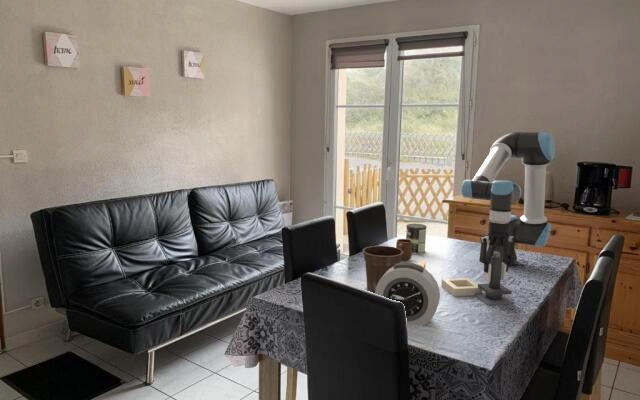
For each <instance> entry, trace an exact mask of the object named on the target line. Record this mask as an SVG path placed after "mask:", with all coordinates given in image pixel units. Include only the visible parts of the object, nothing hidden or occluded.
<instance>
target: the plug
mask: <svg viewBox="0 0 640 400" xmlns="http://www.w3.org/2000/svg"><path fill="white" fill-rule="evenodd" d="M490 265H491V277H490V282H488V283H477V284H478V288H480V289H481V290H483V291H482V292H486V298H488V299H491V300H501V299H502V295H512V290H511V289H509V288H507V287H506V286H504V285H503V284H501V281H502V280H501V269H502V257H500V252H494V256H492V258H491V263H490Z"/></svg>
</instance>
